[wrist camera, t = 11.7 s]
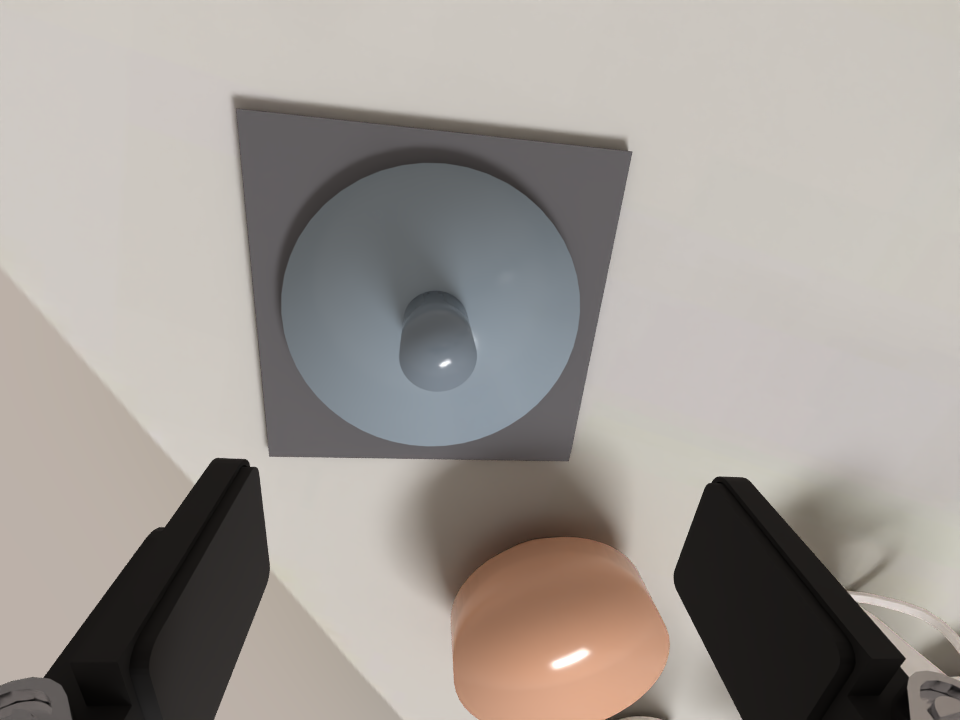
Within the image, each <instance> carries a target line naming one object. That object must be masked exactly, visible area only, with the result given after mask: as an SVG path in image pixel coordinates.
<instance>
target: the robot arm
mask: <svg viewBox="0 0 960 720" xmlns="http://www.w3.org/2000/svg"><path fill="white" fill-rule="evenodd" d="M269 571H270V563H269V555H268V546H267V537H266V529H265V520H264V512H263V503H262V494H261V486H260V477H259V471H258V468H257V467H250V464H249V462H248V460H246V459H228V458H216V459H214V460H213V461H212V462H211V463H210V464H209V466H208V467H207V469H206V470H205V471H204V473H203V474H202V476H201V477H200V478H199V480H198V481H197V483H196V484H195V485H194V487H193V488H192V490H191V491H190V493H189V494H188V495H187V497H186V498H185V500H184V501H183V502H182V504H181V505H180V507H179V508H178V510H177V511H176V512H175V514H174V515H173V517H172V518H171V519H170V521H169V522H168V524H167V525H166V526H165V527H159V528H157V529H155V530H153V531H152V532H151V534H149V535H148V537H147V538H146V539H145V540H144V542H143V543H142V545H141V546H140V547H139V548H138V550H137V551H136V553H135V554H134V555H133V557H132V558H131V560H130V561H129V562H128V563H127V565H126V566H125V567H124V569H123V570H122V572H121V573H120V574H119V576H118V577H117V579H116V580H115V581H114V582H113V584H112V585H111V587H110V588H109V589H108V591H107V592H106V594H105V595H104V596H103V597H102V599H101V600H100V601H99V603H98V604H97V606H96V607H95V609H94V610H93V611H92V612H91V614H90V615H89V617H88V618H87V619H86V621H85V622H84V623H83V625H82V626H81V627H80V629H79V630H78V631H77V633H76V634H75V636H74V637H73V638H72V640H71V641H70V642H69V644H68V645H67V646H66V648H65V649H64V650H63V652H62V654H61V655H60V656H59V657H58V659H57V660H56V661H55V663H54V664H53V665H52V667H51V668H50V670H49V671H48V672H47V674H46V675H45V676H44V678H37V677H31V678H25V679H20V680H15V681H11V682H8V683H5V684H3V685H0V720H214V718H215V715H216V713H217V710H218V708H219V705H220V702H221V700H222V698H223V695H224V692H225V690H226V687H227V685H228V682H229V680H230V677H231V675H232V672H233V669H234V667H235V664H236V662H237V659H238V657H239V654H240V651H241V649H242V646H243V644H244V641H245V639H246V636H247V634H248V631H249V628H250V626H251V623H252V621H253V618H254V616H255V613H256V611H257V608H258V606H259V603H260V601H261V598H262V595H263V593H264V590H265V588H266V585H267V582H268V578H269ZM674 584H675V588H676V590H677V592H678V594H679V596H680V598H681V600H682V602H683V604H684V606H685V608H686V610H687V612H688V614H689V616H690V618H691V620H692V622H693V624H694V626H695V628H696V629H697V631H698V633H699V635H700V637H701V639H702V641H703V643H704V645H705V647H706V649H707V651H708V653H709V655H710V657H711V659H712V661H713V663H714V665H715V667H716V669H717V671H718V673H719V675H720V677H721V679H722V680H723V682H724V684H725V686H726V688H727V690H728V692H729V694H730V696H731V698H732V700H733V702H734V704H735V706H736V708H737V710H738V712H739V714H740V716H741V718H742V720H960V681H959V680H956V679H954V678H952V677H949V676H947V675H944V674H942V673H937V672H932V671H918V672H915V673H914V674H912V675H911V676H910V677H909V676H908V675H907V674H906V673H905V672H904V671H903V669H902V668H901V667H900V666H901V665H902V664H903V662H904V661H905V660H906V658H905V657H904V656H903V655H902V653H901V652H900V651H899V650H898V649H897V648H896V647H895V645H894V644H893V643H892V642H891V641H890V640H889V639H888V637H887V636H886V635H885V634H884V633H883V632H882V631H881V630H880V628H879V627H878V626H877V625H876V624H875V623H874V622H873V620H872V619H871V618H870V617H869V616H868V615H867V614H866V613H865V611H864V610H863V609H862V608H861V607H860V606H859V605H858V603H857V602H856V601H855V600H854V599H853V598H852V597H851V595H850V594H849V593H848V592H847V591H846V590H845V589H844V588H843V586H842V585H841V584H840V583H839V582H838V581H837V580H836V578H835V577H834V576H833V575H832V574H831V573H830V572H829V570H828V569H827V568H826V567H825V566H824V565H823V564H822V563H821V561H820V560H819V559H818V558H817V557H816V556H815V555H814V553H813V552H812V551H811V550H810V549H809V548H808V547H807V545H806V544H805V543H804V542H803V541H802V540H801V539H800V538H799V536H798V535H797V534H796V533H795V532H794V531H793V530H792V528H791V527H790V526H789V525H788V524H787V523H786V522H785V521H784V519H783V518H782V517H781V516H780V515H779V514H778V513H777V511H776V510H775V509H774V508H773V507H772V506H771V505H770V503H769V502H768V501H767V500H766V499H765V498H764V497H763V496H762V494H761V493H760V492H759V491H758V490H757V489H756V488H755V486H754V485H753V484H752V483H751V482H750V481H749V480H748V479H746V478H743V477H716V478H715V479H714V480H713V481H712V483H709V484H707V485H706V487H705V489H704V492H703V494H702V497H701V500H700V502H699V505H698V508H697V511H696V513H695V516H694V519H693V521H692V524H691V527H690V530H689V532H688V535H687V538H686V541H685V543H684V546H683V549H682V551H681V554H680V557H679V560H678V562H677V565H676V568H675V571H674Z"/></svg>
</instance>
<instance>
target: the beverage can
mask: <svg viewBox="0 0 960 720" xmlns="http://www.w3.org/2000/svg"><path fill="white" fill-rule="evenodd" d="M618 720H661V719H658V718H653V717H644V716H632V717H626V718H622V719H618Z"/></svg>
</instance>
